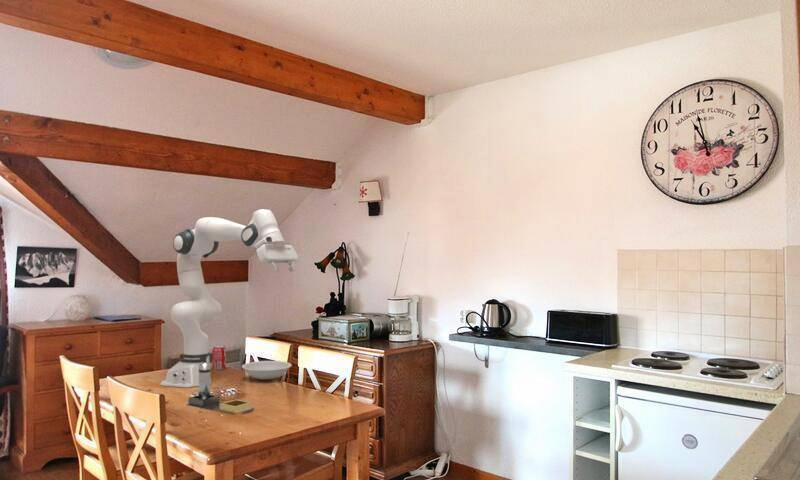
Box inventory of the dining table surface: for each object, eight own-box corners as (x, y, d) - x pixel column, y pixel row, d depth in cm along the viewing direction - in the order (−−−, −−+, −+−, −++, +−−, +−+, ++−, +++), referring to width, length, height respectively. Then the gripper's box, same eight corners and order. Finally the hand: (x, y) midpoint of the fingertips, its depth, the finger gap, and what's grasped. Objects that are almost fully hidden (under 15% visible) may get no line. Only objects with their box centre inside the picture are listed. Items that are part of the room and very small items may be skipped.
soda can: (221, 367, 307) (222, 344, 307) (228, 369, 302) (228, 346, 302) (209, 368, 302) (209, 346, 302) (215, 370, 297) (216, 347, 297)
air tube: (196, 404, 227) (196, 364, 227) (200, 401, 231) (201, 362, 232) (207, 404, 226) (208, 364, 227) (211, 401, 231) (212, 362, 231)
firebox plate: (185, 407, 226) (185, 398, 226) (207, 401, 236) (207, 392, 236) (232, 417, 213) (232, 407, 213) (254, 410, 222) (254, 401, 222)
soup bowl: (290, 383, 270) (291, 369, 270) (238, 384, 266) (239, 370, 266) (292, 373, 294) (292, 360, 294) (244, 374, 290) (244, 361, 290)
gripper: (285, 246, 254) (296, 274, 250) (251, 245, 236) (262, 275, 232) (295, 239, 251) (305, 267, 247) (261, 238, 233) (272, 268, 230)
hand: (284, 271), depth 240 cm, fingers open, 8 cm apart
